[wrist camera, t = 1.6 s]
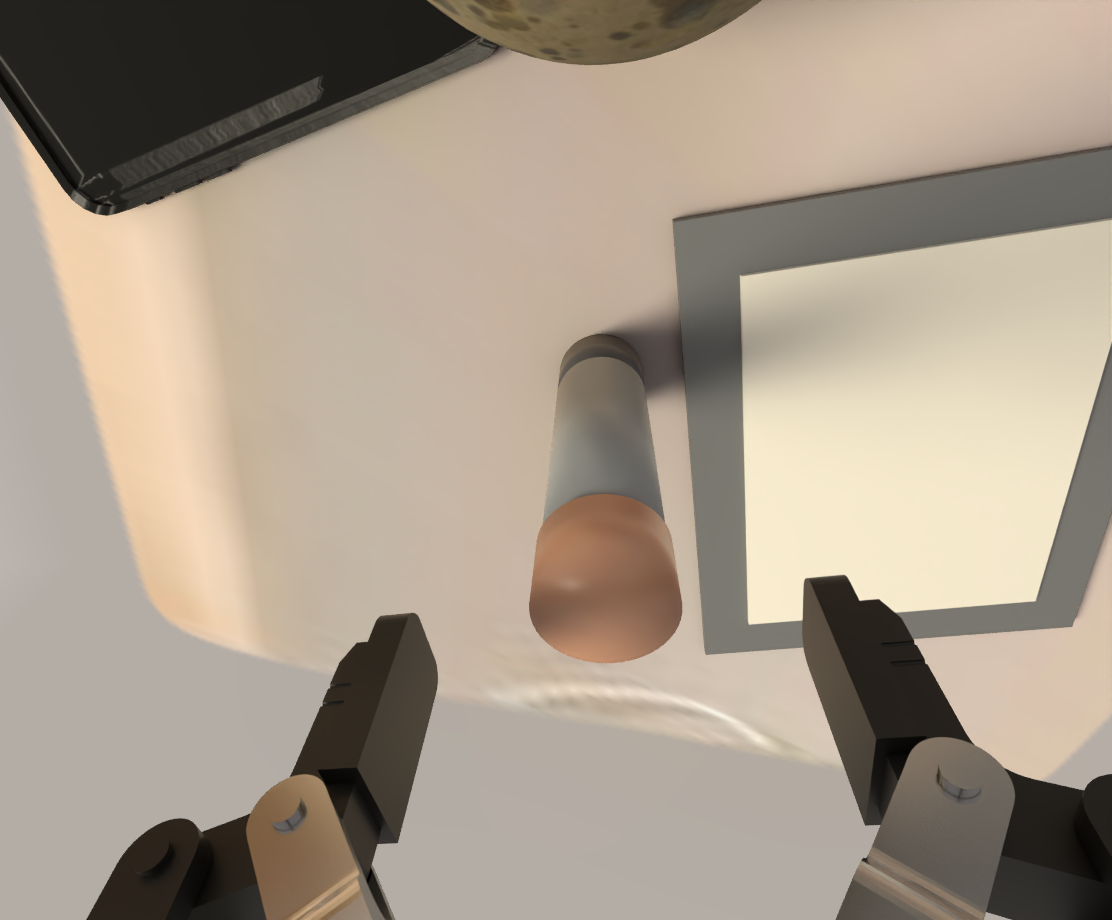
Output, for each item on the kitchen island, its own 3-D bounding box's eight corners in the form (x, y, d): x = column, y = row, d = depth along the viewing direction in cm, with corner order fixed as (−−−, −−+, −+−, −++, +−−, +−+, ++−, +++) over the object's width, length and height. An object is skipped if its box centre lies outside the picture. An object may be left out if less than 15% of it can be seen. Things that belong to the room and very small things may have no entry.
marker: (550, 338, 23) (515, 560, 13) (639, 325, 23) (676, 544, 12) (564, 417, 25) (544, 668, 15) (648, 406, 24) (687, 657, 14)
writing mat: (672, 219, 21) (674, 223, 20) (1231, 126, 19) (1249, 128, 18) (704, 648, 31) (706, 657, 30) (1066, 620, 29) (1074, 630, 28)
